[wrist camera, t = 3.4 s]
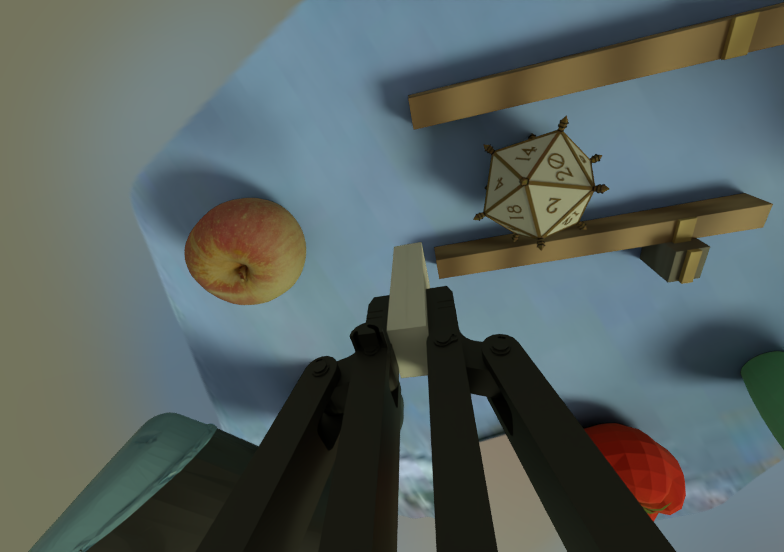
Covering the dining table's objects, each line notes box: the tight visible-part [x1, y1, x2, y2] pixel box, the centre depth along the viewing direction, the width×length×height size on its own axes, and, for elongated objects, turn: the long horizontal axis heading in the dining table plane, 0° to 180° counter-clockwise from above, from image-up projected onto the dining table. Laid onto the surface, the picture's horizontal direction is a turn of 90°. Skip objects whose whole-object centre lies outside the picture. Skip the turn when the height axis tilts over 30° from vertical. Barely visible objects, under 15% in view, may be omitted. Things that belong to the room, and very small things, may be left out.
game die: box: [473, 116, 609, 251], centre depth 24 cm, size 9×8×10 cm
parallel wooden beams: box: [408, 2, 784, 284], centre depth 25 cm, size 26×18×4 cm
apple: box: [185, 198, 306, 305], centre depth 28 cm, size 9×9×8 cm
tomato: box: [584, 423, 686, 522], centre depth 43 cm, size 14×16×10 cm
